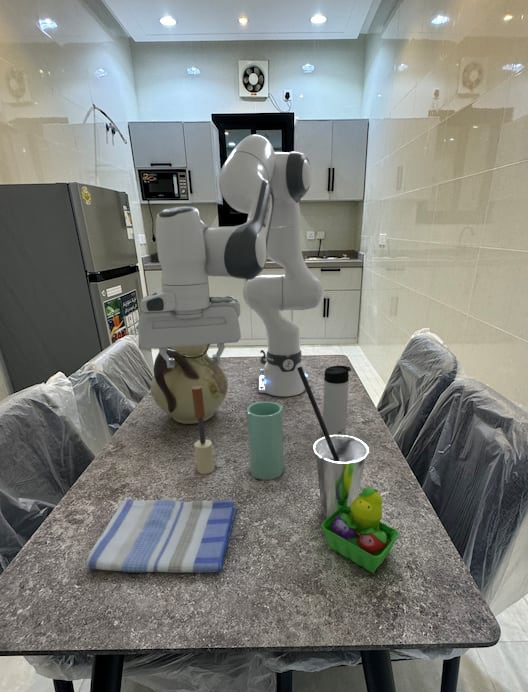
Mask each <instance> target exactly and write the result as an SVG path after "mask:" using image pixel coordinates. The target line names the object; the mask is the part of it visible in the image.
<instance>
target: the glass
mask: <svg viewBox="0 0 528 692" xmlns="http://www.w3.org/2000/svg"><path fill="white" fill-rule="evenodd" d="M297 370H298V372H299V374H300V377H301V379H302V382H303V384H304V387H305V392H306V394H307V397H308V399H309V402H310V404H311V406H312V409H313V411H314V414H315V416H316V419H317V422H318V423H319V426H320V428H321V432H322V431H323V434H324V436H325V437H322V436H321V437H320V438H319V439H317V440H316V441H315V442H314V443H313V446H312V450H313V453H314V454H315V458H316V470H317V480H318V482H317V483H318V489H319V499H320V500H319V501H320V515H321V518H322V520H323V521H325V520H326V519H327V518H328V517H330V516H331V515H332V514H333V513H334V512H335V511H337V510H338V509H339V508H340V507H345V506H349V507H350V506H351V503H352V502H353V500H354V499H356V498H357V497H359V493H360V488H361V483H362V478H363V473H364V468H365V464H366V463H365V462H366V459H367V457H368V456H369V454H370V448H369V446H368V444H367V443H366V442H364V441H363V440H362V439H360V438H357V437H355V436H351V435H348V434H347V435H346V434H345V435H330V436H329V433H328V431H327V428H326V426H325V423H324V421H323V415H322V414H321V413H322V412H321V411H320V409H319V406H318V403H317V400H316V398H315V396H314V394H313V391H312V388H311V385H310V386H309V384H310V382H309V381H308V379H307V378H308V377H306V376H305V373H304V371H303V368H302V367H299V368H297Z"/></svg>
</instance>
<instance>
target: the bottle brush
mask: <svg viewBox="0 0 528 692" xmlns="http://www.w3.org/2000/svg"><path fill="white" fill-rule="evenodd" d="M192 396H193V404H194V413H195V418H198V423H197V427H198V434H199V435H198V436H199V440H197V441H195V442H194V443H193V444H194V445H193V446H194V454H195V461H196V471H197V472H198V473H199V474H201V475H206V474H210V473H212V472H213V471H215V461H214V460H215V459H214V451H213V442H212V441H211V440H210V439H206V434H205V423H204V422H203V417H205V411H204V402H203V392H202V386H193V387H192Z"/></svg>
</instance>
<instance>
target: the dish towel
mask: <svg viewBox="0 0 528 692" xmlns="http://www.w3.org/2000/svg"><path fill="white" fill-rule="evenodd" d="M237 510H238V508H237V507H235V501H234V500H231V499H218V500H217V499H216V500H192V501H178V500H173V499H155V500H154V499H153V500H136V499H131V498H126V499H123V500H121V503H120V506H119V507H118V509H116V511H115V513H114V514H113V516H112V517H111V519H110V521H109V522H108V524H107V525H106V527H105V529H104V531H103V532H102V533H101V535H100V536H99V538H98V539H97V541H96V542H95V543H94V546H93V547H92V549H90V552H89V554H88V555H87V557H86V560H85V567H86V569H87V570H99V571H101V570H102V571H115V572H125V573H127V572H128V573H170V574H171V573H172V574H174V573H175V574H178V573H220V572H222V571H223V568H224V563H225V558H226V557H225V556H226V553H227V550H228V546H229V542H230V538H231V536H232V531H233V526H234V522H235V517H236V513H237Z"/></svg>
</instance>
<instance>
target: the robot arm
mask: <svg viewBox="0 0 528 692" xmlns="http://www.w3.org/2000/svg"><path fill="white" fill-rule="evenodd" d="M311 181H312V169H311V164H310V160H309V159H308V157H307V155H306V154H305V153H303V152H299V151H293V150H292V151H289V152H288V151H287V152H284V151H275V150H274V147H273V145H272V143H271V142H270V141H269V140H268V139H267V138H266V137H264V136H262V135H260V134H249V135H248V136H246V137H244V138H243V139H242V140H240V142H239V143H237V144H236V146H235V147H234V148H233V149H232V151H231V152H230V153H229V155H228V157H227V159H225V162H224V163H223V165H222V167H221V169H220V173H219V177H218V186H219V191H220V193H221V196H222V198H223V199H224V201H225V202H226V203H227V204H228V205H229V207H230V208H232V209H233V210H235V211H236V212H239V213H243V214H247V219H246V222H244V223H243V224H239V225H234V226H209V225H208V224H206V223H204V222H203V221H202V220H201V216H200V212H199V210H198V208H196V207H194V206H188V205H187V206H186V205H183V206H182V205H181V206H176V207H168V208H164V209H162V210H160V211H159V212H158V213H157V215H156V219H155V243H156V252H157V259H158V263H159V266H160V267H161V290H159V291H156V292H153V293H151V294H148V295H146V296H144V297H142V298H141V300H140V302H139V306H140V310H141V311H142V312H141V313H140V315H139V317H138V322H137V336H138V343H139V346H140V347H141V348H143V349H144V350H149V349H150V350H152V349H158V353H159V352H160V354H161V355H162V357H163V358H164V359H165V360H166V362H167V368H175V363H174V358H170V357H169V356H168V355H167V353H166V352H167V347H180V346H193V345H207V344H210V345H216V347H217V351H216V353H215V354H212V355H211V356H212V360H213V364H218V365H221V356H222V354H223V352H224V350H225V344H232V343H233V344H234V343H238V342H239V341H240V339H241V338H242V335H241V334H242V333H241V327H240V322H239V317H240V315H241V304H240V302H239V300H238V299H237V298H234V297H233V296H230V295H228V296H210V288H209V287H210V286H209V278H208V277H211V278H212V277H213V278H234V279H238V280H239V279H240V280H246V282H244V283H245V284H244V286H243V291H242V296H243V300H244V303H245V305H247V306H248V308H250V309H251V310H252V311H253V312H255V313H256V314H257V316H259V318H260V319H261V321H262V323H263V325H264V327H265V328H264V329H265V333H266V340H267V350H266V352H265V350H263V349H261V350H260V351H259V353H260V354H262V355H263V356H261V357H260V362H262V363H264V366H263V368H259V376H258V387H257V388H258V389H257V391H258V393H261V394H267V395H270V396H274V397H284V398H285V397H294V396H297V395H301V394H302V393H304V391H306V389H305V387H304V384H303V382H302V379H301V377H300V374H299V372H298V370H297V368H299V367H302V368H303V371H304V373H305V376H306V378H308V374H307V373H306V372H307V371H306V365H304V364H303V362H302V357H303V354H302V350H301V330H300V327H299V326H298V324H296V323H295V322H293V321H291V320H290V319H287V318H285V316H283V314H282V311H283V312H284V311H306V310H310V309H311V310H312V309H315V308H317V307H319V305H320V304H321V303H322V301H323V298H324V295H325V293H324V292H325V290H324V285H323V283H322V281H321V280H320V279H319V277H317V276H316V275H315V274H314V273H313V272H312V271H311V270H310V268H309V267H308V265H307V264H306V262H305V260H304V259H305V258H304V257H303V251H302V250H303V249H302V237H301V235H302V234H301V233H302V232H301V228H302V227H301V225H302V223H301V209H300V207H301V206H300V202H301V200H302V198H303V197H305V195H306V194H307V193H308V191H309V189H310V186H311ZM267 259H268V260H269V261H271V262H273V263H274V264H276V265H279V266H281V267H282V268H283V269H284V271H285V273H284V274H262V275H260V274H261V273H262V272H263V270H264V269H265V267H266V264H267ZM265 358H266V359H265ZM264 359H265V360H264ZM309 386H310V387H311V384H310V383H309Z"/></svg>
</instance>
